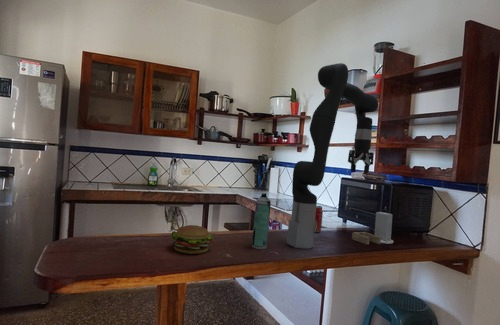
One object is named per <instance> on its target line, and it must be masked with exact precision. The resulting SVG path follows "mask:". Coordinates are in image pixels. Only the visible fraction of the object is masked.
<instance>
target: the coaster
mask: <svg viewBox="0 0 500 325" xmlns="http://www.w3.org/2000/svg"><path fill="white" fill-rule="evenodd" d="M393 243H394V240H393V239H391V240H390V241H384V240H381V242H380V244H387V245H392V244H393Z"/></svg>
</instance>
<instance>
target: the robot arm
mask: <svg viewBox="0 0 500 325" xmlns="http://www.w3.org/2000/svg"><path fill="white" fill-rule="evenodd" d="M348 79H349V69H348V66H347V64H345V63H334V64H328V65H324V66H321V68H320V69H318V73H317V80H318V82H319V84H320V86H321V87H322V88H325V89H326V90H329V92H328V93H327V94H326V97H325V98H324V99H322V101H321V102H320V104H319V105H318V106H317V107H316V109H315V110H314V112H313V114H312V118H311V121H310V124H309V134H310V138H311V140H312V142H313V146H314V148H313V149H314V154H313V158H312V161H309V160H300V161H297V162H296V163H295V165H294V166H293V167H294V168H293V170H292V171H293V172H292V184H291V185H292V186H291V187H292V188H291V190H292V191H291V193H292V208H291V215H290V219H289V220H288V227H287V236H286V244H287V245H289V246H291V247H293V248H295V249H306V250H307V249H312V248H313V245H314V244H313V243H314V225H315V214H316V206H317V202H318V197H317V196H316V194H314V193H313V192H312V191H311V190H310V189H309V186H312V187H318V186H320V185H321V183H322V182H323V180H324V176H325V173H326V172H325V171H326V166H327V159H328V154H329V153H328V152H329V148H330V143H331V139H332V136H333V132H334V129H335V125H336V124H335V123H336V120H337V115H338V111H339V106H340V103H341V100H342V97H343V98H344V99H345V100H347V101H348V102H349V103H351V104H352V105H353V106H354V110H355V115H356V128H355V129H356V130H355V134H354V144H353V149H349V150H348V157H347V158H348V159H347V163H349V164H350V172H351V173H355V172H356V171H357V170H356V168H357V163H358V162H359V161H362V162H363V163H364V167H363V168H364V169H363V174H369V172H370V166H371V165H374V160H375V158H374V157H375V156H374V154H375V153H374V152H373V151H372V152H370V150H371V146H372V136H373V133H372V132H373V131H372V130H373V129H372V128H373V119H372V117H367V116H366V115H365V113H374V112H376V111H377V110H378V108H379V101H378V99H377V98H376V97H375V96H373V95H372V94H369V93H366V92H365V91H363V90H362V89H361V88H359V87H358V86H357V85H355V84H351V83H349V82H348V81H349V80H348Z"/></svg>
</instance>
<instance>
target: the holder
mask: <svg viewBox="0 0 500 325" xmlns="http://www.w3.org/2000/svg"><path fill="white" fill-rule="evenodd" d="M351 240H354V241H355V242H359V243H362V244H364V245H370V242H372V243H375V244H377V245H381V243H380V242H381V237H379V236H376V235H375V234H372V233H369V232H366V231H360V232H359V231H357V232H352V234H351Z"/></svg>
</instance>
